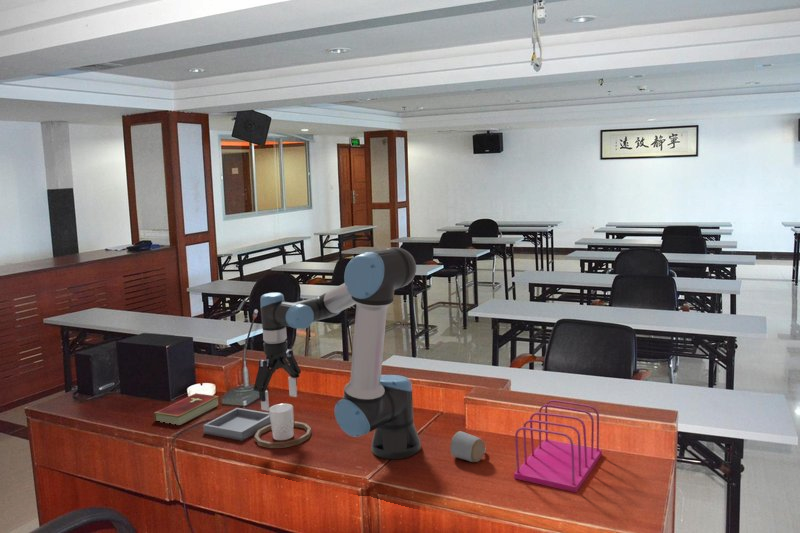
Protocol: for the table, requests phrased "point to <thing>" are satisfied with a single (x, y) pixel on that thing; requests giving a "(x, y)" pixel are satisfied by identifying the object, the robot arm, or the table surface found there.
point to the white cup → (282, 421)
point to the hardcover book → (186, 409)
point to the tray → (237, 424)
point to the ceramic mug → (467, 447)
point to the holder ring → (282, 444)
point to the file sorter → (558, 454)
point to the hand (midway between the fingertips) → (279, 403)
